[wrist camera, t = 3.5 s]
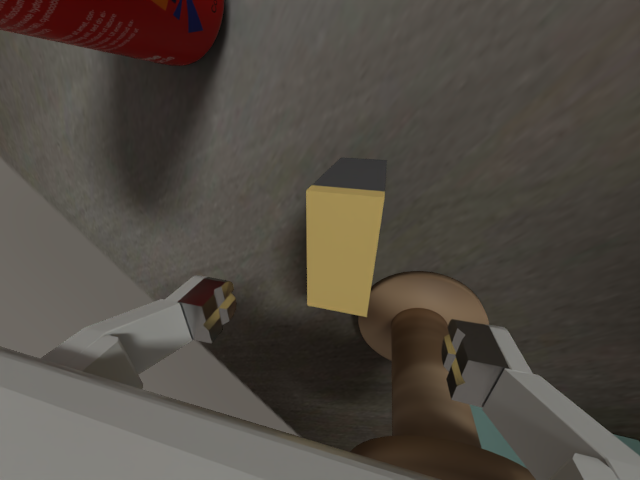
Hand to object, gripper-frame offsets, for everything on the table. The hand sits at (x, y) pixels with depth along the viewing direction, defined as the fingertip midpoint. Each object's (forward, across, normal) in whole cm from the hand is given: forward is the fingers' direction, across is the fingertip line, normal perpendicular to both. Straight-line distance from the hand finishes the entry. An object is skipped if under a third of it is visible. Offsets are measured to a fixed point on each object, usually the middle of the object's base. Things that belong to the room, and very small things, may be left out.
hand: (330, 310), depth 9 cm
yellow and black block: (+10, 0, -1) cm, 10 cm away
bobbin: (+10, -6, +9) cm, 15 cm away
